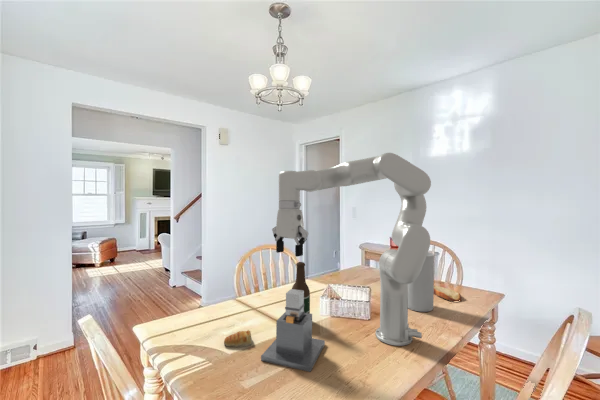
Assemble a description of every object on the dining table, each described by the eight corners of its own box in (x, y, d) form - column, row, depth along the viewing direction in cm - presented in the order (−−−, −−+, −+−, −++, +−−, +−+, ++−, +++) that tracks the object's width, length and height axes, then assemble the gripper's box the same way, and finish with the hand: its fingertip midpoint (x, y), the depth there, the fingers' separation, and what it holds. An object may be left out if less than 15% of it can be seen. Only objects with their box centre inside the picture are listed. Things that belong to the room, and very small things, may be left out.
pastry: (224, 350, 93) (224, 339, 93) (223, 341, 100) (223, 330, 100) (253, 346, 96) (253, 335, 96) (249, 337, 103) (250, 326, 103)
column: (304, 344, 94) (304, 290, 93) (299, 352, 89) (299, 295, 89) (290, 341, 95) (290, 288, 95) (284, 349, 91) (285, 293, 91)
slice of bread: (428, 287, 161) (428, 281, 161) (464, 294, 150) (464, 287, 150) (420, 296, 146) (420, 289, 146) (460, 304, 136) (460, 296, 136)
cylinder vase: (427, 302, 137) (428, 251, 136) (437, 313, 124) (438, 256, 124) (401, 301, 138) (401, 250, 138) (408, 311, 126) (409, 255, 125)
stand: (324, 344, 97) (325, 306, 97) (310, 371, 82) (310, 327, 82) (281, 336, 102) (282, 300, 102) (261, 360, 87) (261, 318, 87)
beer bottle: (308, 326, 110) (308, 265, 110) (288, 324, 112) (289, 264, 112) (311, 318, 118) (311, 261, 118) (293, 316, 120) (293, 260, 119)
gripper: (314, 206, 97) (314, 255, 97) (280, 205, 109) (280, 249, 109) (299, 206, 92) (299, 259, 92) (265, 205, 104) (265, 252, 104)
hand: (289, 253), depth 101 cm, fingers open, 9 cm apart
